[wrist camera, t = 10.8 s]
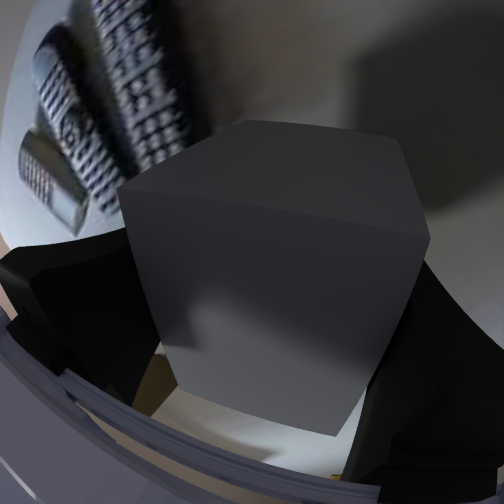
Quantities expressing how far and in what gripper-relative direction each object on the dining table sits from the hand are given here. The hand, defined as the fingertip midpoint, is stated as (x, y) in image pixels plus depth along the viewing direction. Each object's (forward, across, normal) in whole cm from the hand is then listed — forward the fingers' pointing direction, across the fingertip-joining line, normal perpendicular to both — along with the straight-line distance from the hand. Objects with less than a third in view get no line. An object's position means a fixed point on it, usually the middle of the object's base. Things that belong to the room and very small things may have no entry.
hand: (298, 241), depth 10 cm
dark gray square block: (+3, 0, 0) cm, 3 cm away
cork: (+8, +18, +29) cm, 35 cm away
